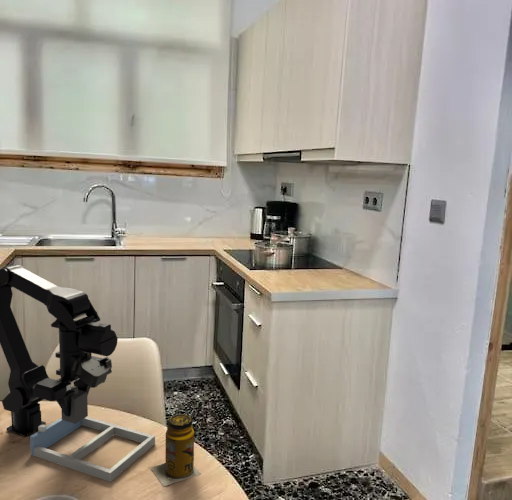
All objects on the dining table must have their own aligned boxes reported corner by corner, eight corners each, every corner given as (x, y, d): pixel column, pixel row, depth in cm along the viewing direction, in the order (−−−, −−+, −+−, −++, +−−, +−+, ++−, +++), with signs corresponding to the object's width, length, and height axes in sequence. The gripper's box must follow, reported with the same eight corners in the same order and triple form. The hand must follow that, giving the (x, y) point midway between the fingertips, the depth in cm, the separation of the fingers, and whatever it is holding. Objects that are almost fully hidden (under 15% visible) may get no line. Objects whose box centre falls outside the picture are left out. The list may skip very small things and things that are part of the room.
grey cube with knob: (61, 419, 116) (60, 389, 115) (74, 412, 120) (73, 382, 118) (75, 423, 114) (74, 392, 113) (87, 416, 118) (87, 385, 117)
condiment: (200, 474, 108) (201, 422, 106) (163, 487, 103) (164, 433, 101) (186, 457, 114) (186, 407, 112) (150, 468, 109) (150, 417, 107)
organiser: (29, 454, 113) (28, 431, 112) (80, 422, 127) (80, 401, 127) (110, 481, 104) (110, 457, 103) (155, 443, 119) (155, 422, 118)
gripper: (70, 369, 102) (72, 440, 105) (128, 340, 119) (128, 402, 122) (29, 359, 107) (32, 427, 109) (90, 333, 124) (91, 392, 126)
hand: (74, 411), depth 117 cm, fingers closed on grey cube with knob, 4 cm apart
